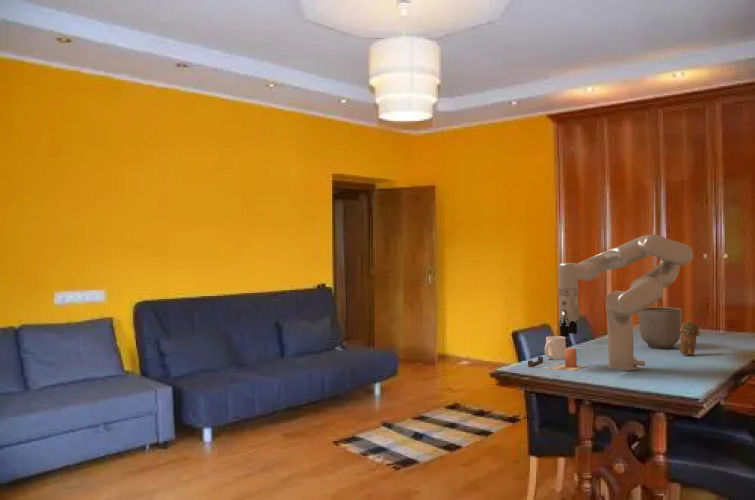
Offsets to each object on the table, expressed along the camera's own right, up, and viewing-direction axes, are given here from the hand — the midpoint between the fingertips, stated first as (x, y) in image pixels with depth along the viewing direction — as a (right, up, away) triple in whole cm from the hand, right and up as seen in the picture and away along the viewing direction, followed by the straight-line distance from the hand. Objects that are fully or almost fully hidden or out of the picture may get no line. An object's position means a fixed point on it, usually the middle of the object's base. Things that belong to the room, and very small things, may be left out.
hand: (568, 334), depth 251 cm
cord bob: (+1, -13, 0) cm, 13 cm away
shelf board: (-5, -14, +1) cm, 15 cm away
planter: (+61, -14, +50) cm, 80 cm away
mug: (0, -15, +20) cm, 25 cm away
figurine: (+63, -13, +26) cm, 70 cm away
